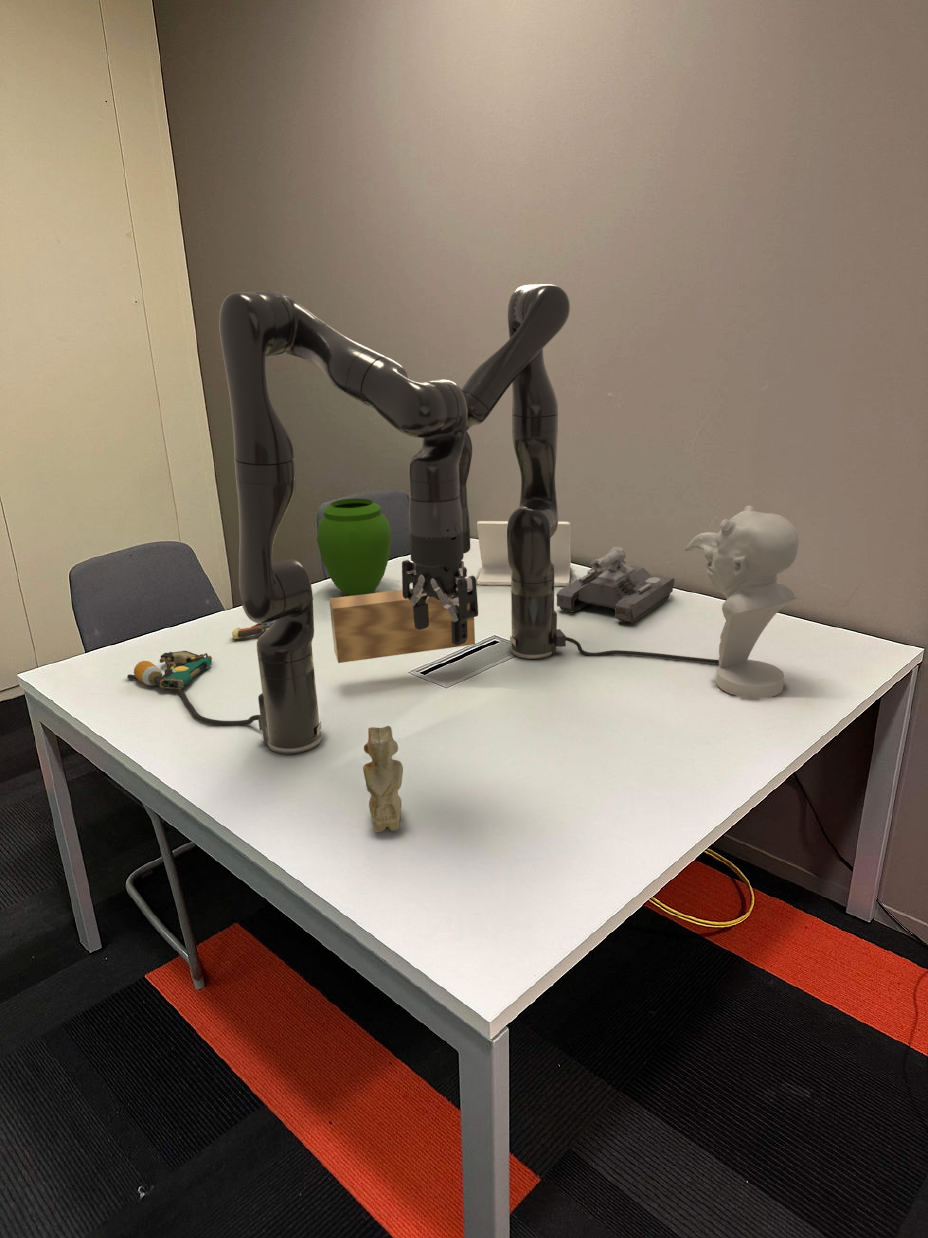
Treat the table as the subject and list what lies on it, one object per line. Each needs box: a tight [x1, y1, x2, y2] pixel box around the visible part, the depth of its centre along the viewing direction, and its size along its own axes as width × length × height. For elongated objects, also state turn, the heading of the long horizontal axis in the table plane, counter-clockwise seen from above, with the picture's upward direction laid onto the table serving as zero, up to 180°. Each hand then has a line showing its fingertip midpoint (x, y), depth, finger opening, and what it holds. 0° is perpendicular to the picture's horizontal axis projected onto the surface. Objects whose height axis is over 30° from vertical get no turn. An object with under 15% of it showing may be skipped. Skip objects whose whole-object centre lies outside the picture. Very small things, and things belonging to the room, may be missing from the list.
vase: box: [316, 497, 392, 596], centre depth 225 cm, size 20×20×24 cm
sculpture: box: [362, 725, 404, 833], centre depth 125 cm, size 6×7×15 cm
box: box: [328, 589, 476, 664], centre depth 170 cm, size 28×6×11 cm, turn 105°
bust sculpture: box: [684, 505, 799, 699], centre depth 167 cm, size 16×24×35 cm
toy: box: [556, 546, 676, 624], centre depth 212 cm, size 25×20×15 cm
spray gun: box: [133, 650, 213, 690], centre depth 180 cm, size 4×17×15 cm
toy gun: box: [231, 620, 275, 640], centre depth 206 cm, size 3×19×10 cm
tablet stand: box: [476, 520, 572, 587], centre depth 236 cm, size 18×25×17 cm
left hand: (440, 635), depth 125 cm, fingers open, 8 cm apart
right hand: (454, 608), depth 172 cm, fingers closed on box, 6 cm apart
